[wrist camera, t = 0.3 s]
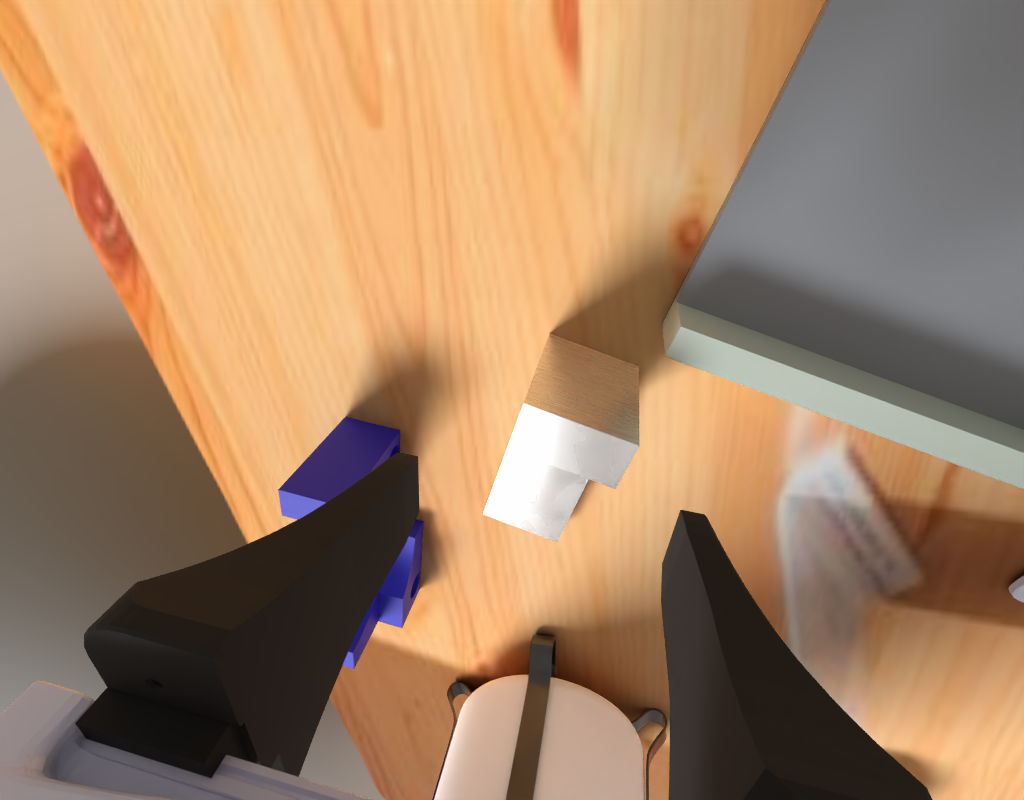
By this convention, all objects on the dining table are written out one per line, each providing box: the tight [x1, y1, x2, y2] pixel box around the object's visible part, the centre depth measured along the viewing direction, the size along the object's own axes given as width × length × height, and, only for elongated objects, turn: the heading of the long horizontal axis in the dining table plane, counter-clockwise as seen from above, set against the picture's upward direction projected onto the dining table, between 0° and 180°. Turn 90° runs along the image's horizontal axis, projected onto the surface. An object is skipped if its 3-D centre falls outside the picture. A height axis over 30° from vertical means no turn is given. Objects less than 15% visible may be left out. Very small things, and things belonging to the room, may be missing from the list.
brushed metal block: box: [483, 334, 639, 542], centre depth 22 cm, size 10×4×6 cm, turn 163°
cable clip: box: [278, 417, 423, 669], centre depth 27 cm, size 12×4×6 cm, turn 172°
